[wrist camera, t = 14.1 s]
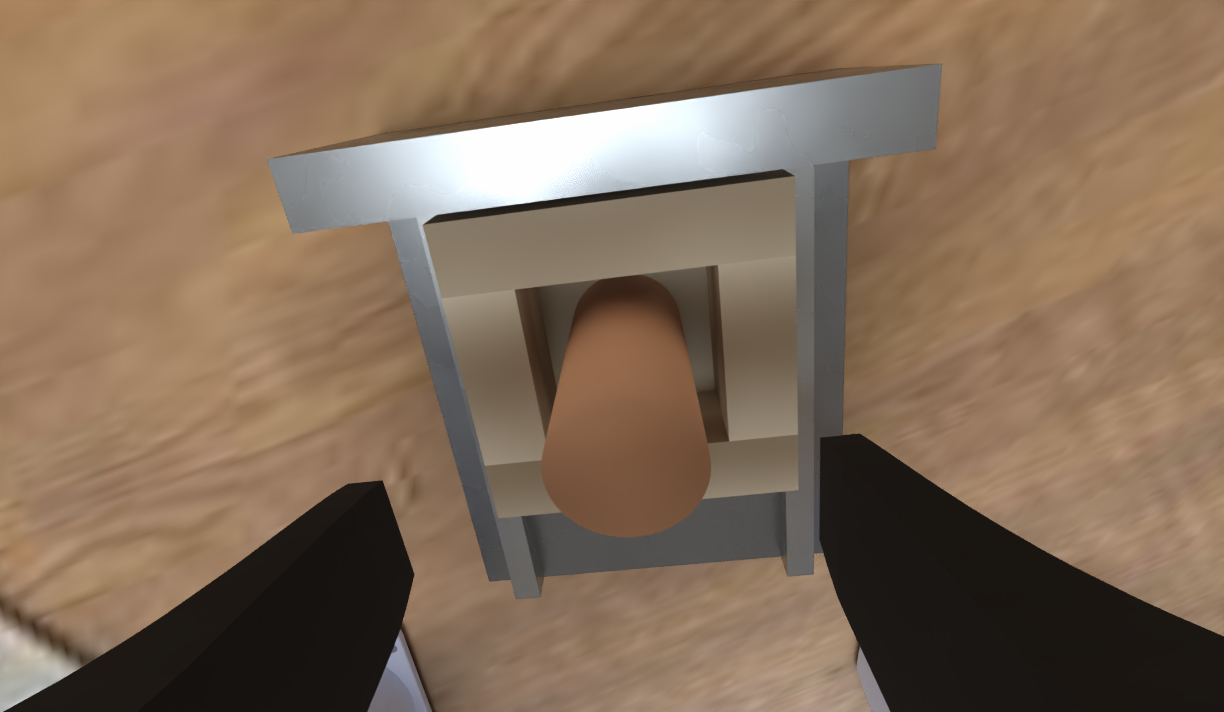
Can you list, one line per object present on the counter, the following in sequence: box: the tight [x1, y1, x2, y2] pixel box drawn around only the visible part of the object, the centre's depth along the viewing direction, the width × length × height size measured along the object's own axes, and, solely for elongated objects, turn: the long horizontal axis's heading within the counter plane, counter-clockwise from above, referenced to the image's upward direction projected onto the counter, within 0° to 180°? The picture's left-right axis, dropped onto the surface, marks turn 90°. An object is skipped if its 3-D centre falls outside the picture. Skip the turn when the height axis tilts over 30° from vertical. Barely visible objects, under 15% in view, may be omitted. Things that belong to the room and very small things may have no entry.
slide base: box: [267, 64, 942, 599], centre depth 18 cm, size 16×13×6 cm
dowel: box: [541, 274, 711, 537], centre depth 14 cm, size 3×3×7 cm
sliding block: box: [423, 169, 798, 518], centre depth 17 cm, size 8×8×4 cm
